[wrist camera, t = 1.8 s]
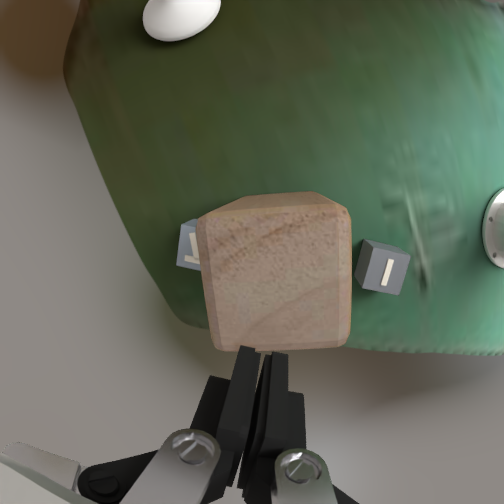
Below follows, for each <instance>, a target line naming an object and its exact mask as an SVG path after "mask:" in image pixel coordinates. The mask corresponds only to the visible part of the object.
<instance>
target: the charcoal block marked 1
mask: <svg viewBox="0 0 504 504" xmlns="http://www.w3.org/2000/svg"><path fill="white" fill-rule="evenodd" d="M410 258H411V256H410V255H409V254H407V253H406V252H404V251H403V250H401V249H400V248H398V247H396V246H392V245H388V244H384V243H380V242H376V241H371V240H367V239H363V243H362V247H361V251H360V255H359V258H358V262H357V266H356V269H355V273H354V276H355V278H356V279H357V281H358V282H359V284H360V286H361V287H362V288H364V289H369V290H374V291H379V292H384V293H389V294H394V295H399V293H400V290H401V287H402V284H403V281H404V278H405V275H406V271H407V268H408V265H409V261H410Z"/></svg>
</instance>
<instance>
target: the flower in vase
mask: <svg viewBox="0 0 504 504" xmlns="http://www.w3.org/2000/svg"><path fill="white" fill-rule="evenodd" d="M220 4H221V0H149V2H148V3H147V5H146V7H145V9H144V12H143V24H144V28H145V30H146V31H147V33H148V34H149V35H150V36H152V37H153V38H155V39H158V40H162V41H177V40H182V39H185V38H188V37H191V36H193V35H195V34H197V33H199V32H200V31H202V30H203V29H205V28H206V27H207V26H208V25H209V24H210V23H211V22H212V21H213V20H214V19H215V17H216V16H217V14H218V12H219V9H220Z"/></svg>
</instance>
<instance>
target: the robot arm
mask: <svg viewBox="0 0 504 504" xmlns="http://www.w3.org/2000/svg"><path fill="white" fill-rule="evenodd" d="M482 236H483V244H484V248H485V251H486V253H487V256H488V257H489V259H490V260H491V261H492V262H493V263H494V264H495V265H497V266H499V267H501V268H504V188H503V189H501V190H499V191H498V192H497V193H496V194H495V195H494V196H493V197H492V199H491V201H490V202H489V204H488V206H487V209H486V211H485V215H484V219H483V227H482ZM255 349H256V348H252V347H248V346H243V345H240V348H239V352H238V355H237V359H236V363H235V366H234V370H233V374H232V378H231V380H228V379H224V378H219V377H215V376H210V377H209V379H208V382H207V384H206V387H205V389H204V392H203V395H202V397H201V400H200V403H199V405H198V408H197V411H196V413H195V416H194V418H193V421H192V424H191V426H190V429H182V430H178V431H176V432H174V433H172V434H171V435H170V436H169V437H168V438H167V439H166V441H165V442H164V443H163V445H162V446H161V448H160V449H159V450H155V451H152V452H148V453H145V454H141V455H137V456H134V457H129V458H125V459H121V460H117V461H112V462H107V463H103V464H98V465H94V466H91V467H85V466H82V465H80V463H79V462H77V461H74V460H70V459H67V458H64V457H61V456H58V455H55V454H52V453H49V452H46V451H43V450H41V449H38V448H35V447H33V446H30V445H28V444H25V443H20V442H16V443H11V444H9V445H7V446H6V447H5V449H4V450H3V452H2V453H0V504H209V503H210V502H213V501H215V500H217V499H219V498H222V497H223V494H224V491H225V488H226V486H229V487H232V485H233V481H234V478H235V475H236V472H237V469H238V466H239V463H240V460H241V457H242V462H241V468H240V473H239V479H238V484H237V488H240V489H243V494H242V497H243V498H244V501H245V502H246V503H247V504H359V503H357V502H356V501H355V500H353V499H352V498H350V497H349V496H348V495H346V494H345V493H344V492H342V491H341V490H339V489H338V488H337V487H335V486H334V485H333V484H332V482H331V478H330V475H329V471H328V468H327V465H326V463H325V461H324V460H323V459H322V458H321V457H320V456H319V455H317V454H316V453H314V452H312V451H309V450H306V429H305V408H304V395H303V394H302V393H296V392H290V391H288V354H282V353H277V352H272V355H265V358H264V362H263V366H262V370H261V373H260V377H259V381H258V385H257V388H256V383H257V376H258V370H259V363H260V356H261V353H256V352H255ZM255 390H256V392H255ZM242 453H243V456H242Z"/></svg>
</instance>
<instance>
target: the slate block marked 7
mask: <svg viewBox="0 0 504 504" xmlns="http://www.w3.org/2000/svg"><path fill="white" fill-rule="evenodd" d="M197 222H198V219H192V220H190V221H188V222H186V223H184V224H181V231H180V239H179V247H178V255H177V264H176V265H177V266H182V267H186V268H190V269H195V270H199V271H201V268H200V261H199V253H198V246H197V238H196V230H195V229H196V225H197Z"/></svg>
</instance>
